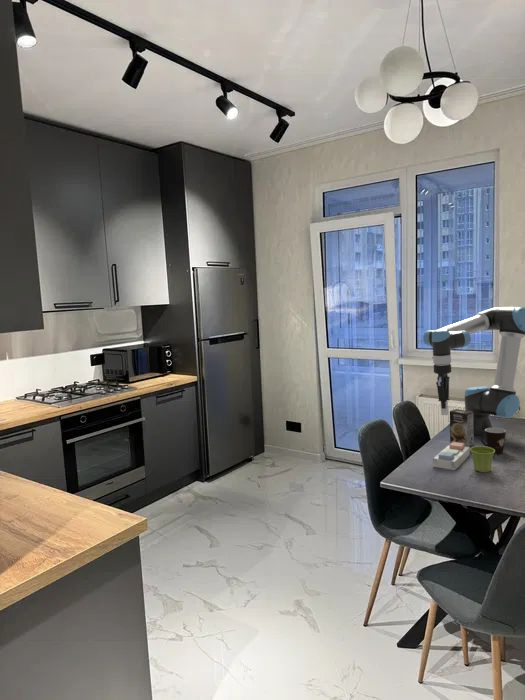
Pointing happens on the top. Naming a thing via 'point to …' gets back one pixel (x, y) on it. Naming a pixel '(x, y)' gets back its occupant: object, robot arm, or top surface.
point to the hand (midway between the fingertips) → (444, 414)
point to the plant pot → (482, 458)
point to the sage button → (453, 451)
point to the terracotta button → (457, 446)
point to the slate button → (446, 456)
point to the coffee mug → (495, 439)
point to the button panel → (454, 462)
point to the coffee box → (461, 427)
